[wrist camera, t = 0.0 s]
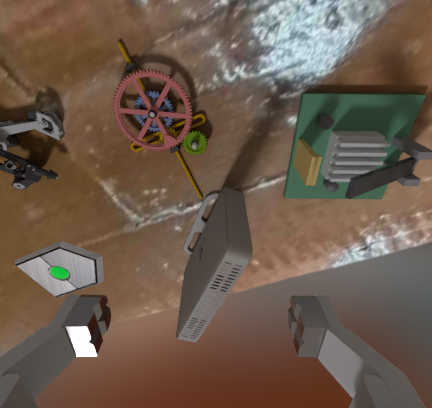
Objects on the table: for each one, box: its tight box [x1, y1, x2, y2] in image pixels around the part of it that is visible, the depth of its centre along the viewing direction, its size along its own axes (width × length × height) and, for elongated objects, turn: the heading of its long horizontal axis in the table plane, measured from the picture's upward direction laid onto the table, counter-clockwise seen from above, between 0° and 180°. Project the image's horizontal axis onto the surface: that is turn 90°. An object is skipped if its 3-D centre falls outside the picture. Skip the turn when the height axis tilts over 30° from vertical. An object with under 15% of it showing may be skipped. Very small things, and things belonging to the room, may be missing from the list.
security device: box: [15, 241, 104, 297], centre depth 65 cm, size 17×22×2 cm
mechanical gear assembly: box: [113, 42, 208, 199], centre depth 45 cm, size 30×4×15 cm
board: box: [284, 93, 432, 199], centre depth 44 cm, size 20×20×9 cm
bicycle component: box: [0, 110, 65, 190], centre depth 46 cm, size 12×7×15 cm
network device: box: [176, 187, 253, 342], centre depth 50 cm, size 26×9×20 cm, turn 158°
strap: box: [345, 157, 419, 199], centre depth 40 cm, size 3×16×1 cm
